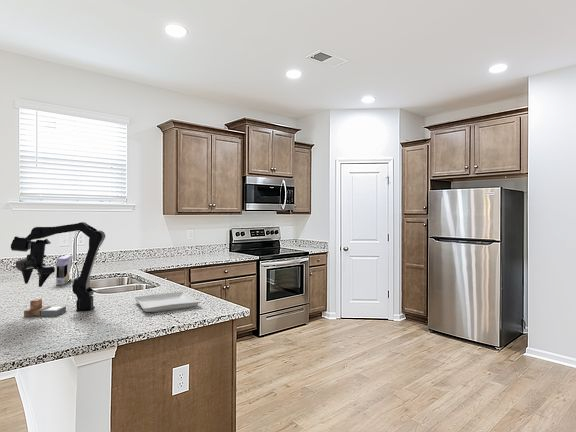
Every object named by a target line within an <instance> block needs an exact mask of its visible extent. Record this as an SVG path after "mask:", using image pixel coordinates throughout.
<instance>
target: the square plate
mask: <svg viewBox="0 0 576 432" xmlns="http://www.w3.org/2000/svg"><path fill="white" fill-rule="evenodd" d="M133 300H135V301H136V302H137V303H138V304H139V305H140V307H141V308H142V310H143V311H144V312H147V313H150V312H151V313H156V312H167V311H172V310H181V309H186V308H193V307H195V306H197V305H198V304H200V301H199V300H197V298H194V297H193V296H191V295H190V294H188V293H187V292H186V291H178V292H177V291H176V292H165V293H164V292H163V293H156V294H148V295H140V296H134V297H133Z"/></svg>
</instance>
